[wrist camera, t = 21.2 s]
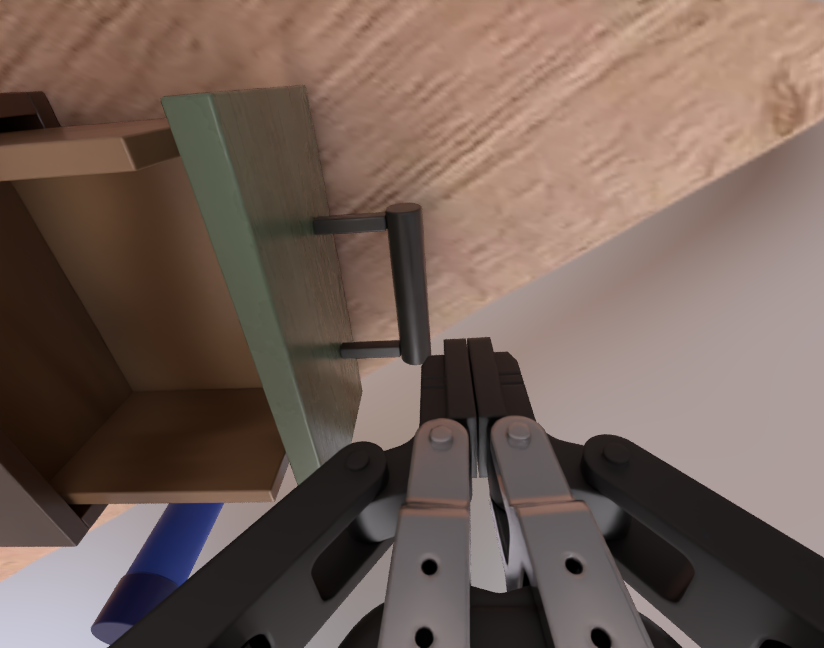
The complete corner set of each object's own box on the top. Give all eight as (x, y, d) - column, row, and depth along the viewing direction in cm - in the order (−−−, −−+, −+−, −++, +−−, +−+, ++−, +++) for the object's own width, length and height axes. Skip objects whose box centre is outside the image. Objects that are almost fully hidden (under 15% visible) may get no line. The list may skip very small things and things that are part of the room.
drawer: (416, 74, 15) (405, 74, 8) (435, 389, 23) (436, 516, 16) (-20, 113, 16) (-331, 140, 10) (143, 398, 24) (36, 519, 18)
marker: (182, 460, 29) (77, 622, 20) (227, 459, 28) (141, 622, 20) (199, 489, 30) (109, 650, 22) (242, 489, 30) (168, 651, 22)
